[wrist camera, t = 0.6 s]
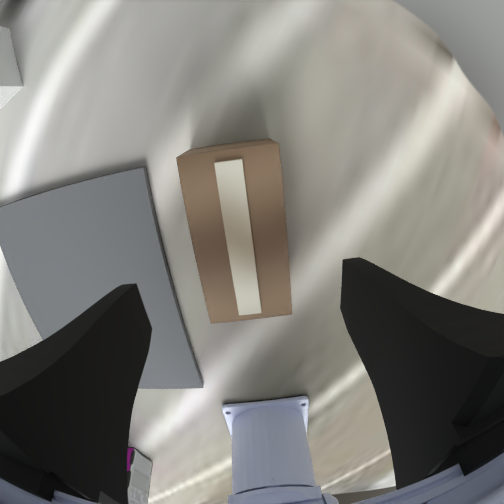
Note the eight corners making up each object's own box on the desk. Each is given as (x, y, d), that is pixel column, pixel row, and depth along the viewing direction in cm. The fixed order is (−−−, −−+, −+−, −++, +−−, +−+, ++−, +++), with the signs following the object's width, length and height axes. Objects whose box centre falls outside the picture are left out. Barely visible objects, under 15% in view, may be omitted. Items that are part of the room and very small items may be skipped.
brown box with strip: (282, 278, 20) (292, 316, 16) (215, 286, 20) (210, 325, 16) (269, 138, 16) (279, 143, 12) (190, 149, 16) (175, 158, 12)
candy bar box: (99, 460, 33) (80, 545, 18) (78, 445, 31) (54, 534, 16) (156, 462, 31) (144, 563, 17) (135, 446, 29) (116, 556, 14)
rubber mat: (203, 383, 24) (202, 387, 23) (72, 380, 24) (70, 383, 23) (145, 166, 16) (143, 167, 16) (-7, 209, 16) (-11, 211, 16)
